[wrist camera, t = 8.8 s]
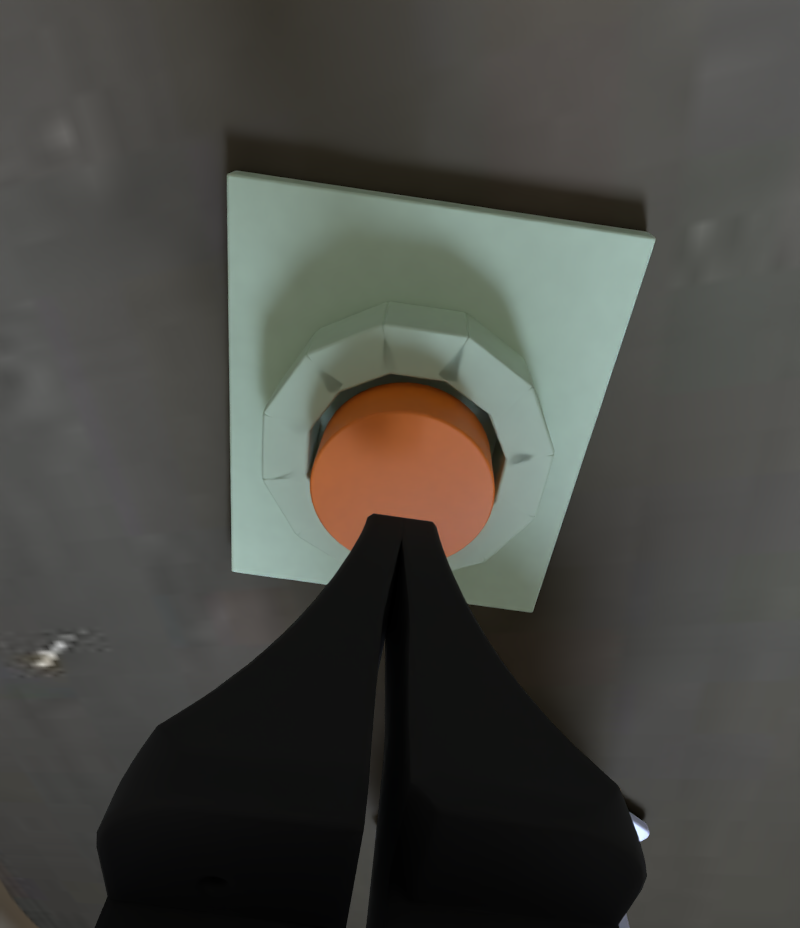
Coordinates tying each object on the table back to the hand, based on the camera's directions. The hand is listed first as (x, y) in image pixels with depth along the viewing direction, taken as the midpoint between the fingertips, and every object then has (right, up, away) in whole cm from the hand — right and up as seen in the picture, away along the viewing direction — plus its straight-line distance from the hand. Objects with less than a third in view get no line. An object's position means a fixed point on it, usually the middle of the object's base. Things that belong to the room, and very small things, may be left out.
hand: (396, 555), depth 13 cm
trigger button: (0, +2, +3) cm, 4 cm away
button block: (0, +3, +5) cm, 6 cm away
